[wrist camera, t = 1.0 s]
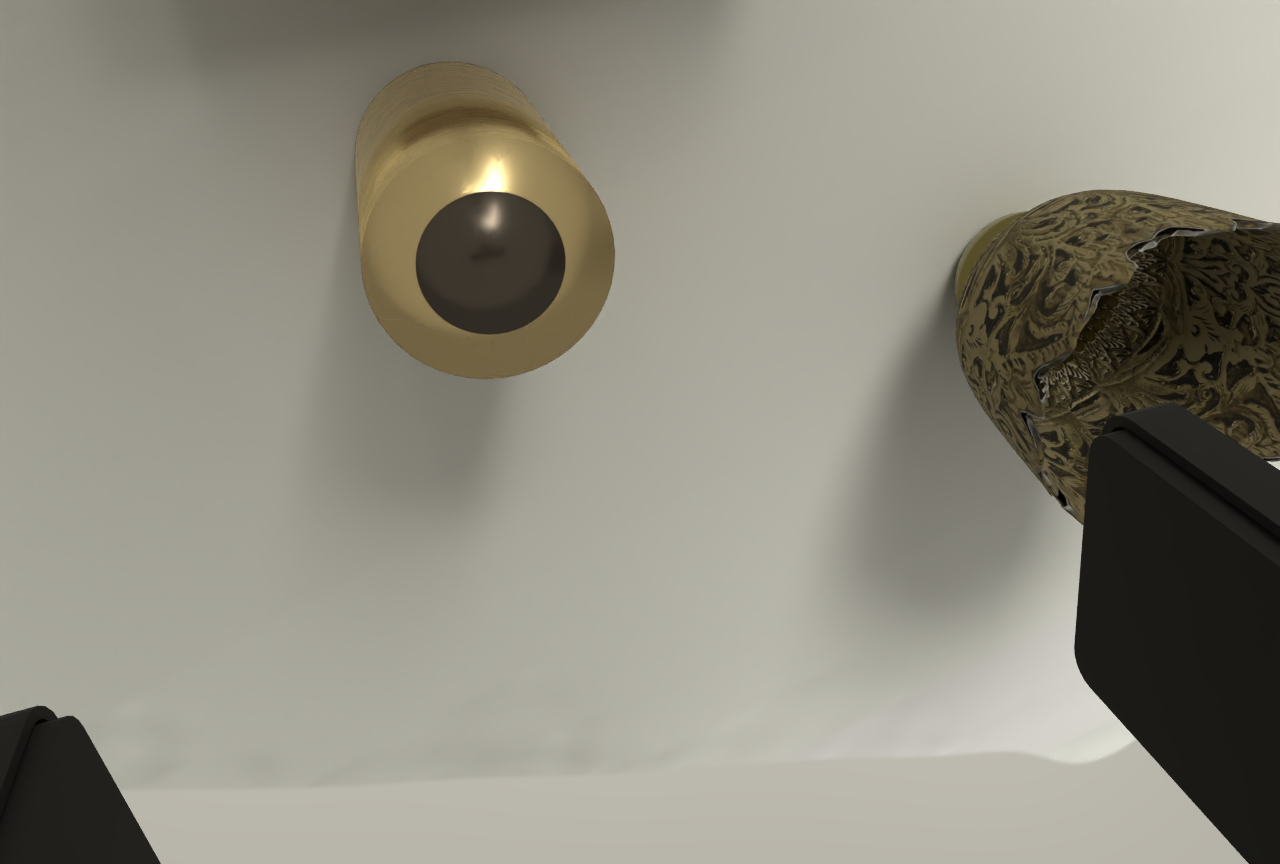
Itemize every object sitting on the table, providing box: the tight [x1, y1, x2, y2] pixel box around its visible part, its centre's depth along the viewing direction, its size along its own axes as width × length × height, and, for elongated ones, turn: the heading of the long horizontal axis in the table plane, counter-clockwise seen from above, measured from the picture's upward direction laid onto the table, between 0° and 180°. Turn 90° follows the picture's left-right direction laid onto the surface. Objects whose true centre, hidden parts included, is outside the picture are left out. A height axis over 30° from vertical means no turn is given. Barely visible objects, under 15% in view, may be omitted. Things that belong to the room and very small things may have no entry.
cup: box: [954, 190, 1280, 525], centre depth 26 cm, size 8×7×8 cm
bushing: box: [355, 62, 615, 379], centre depth 22 cm, size 4×4×7 cm
